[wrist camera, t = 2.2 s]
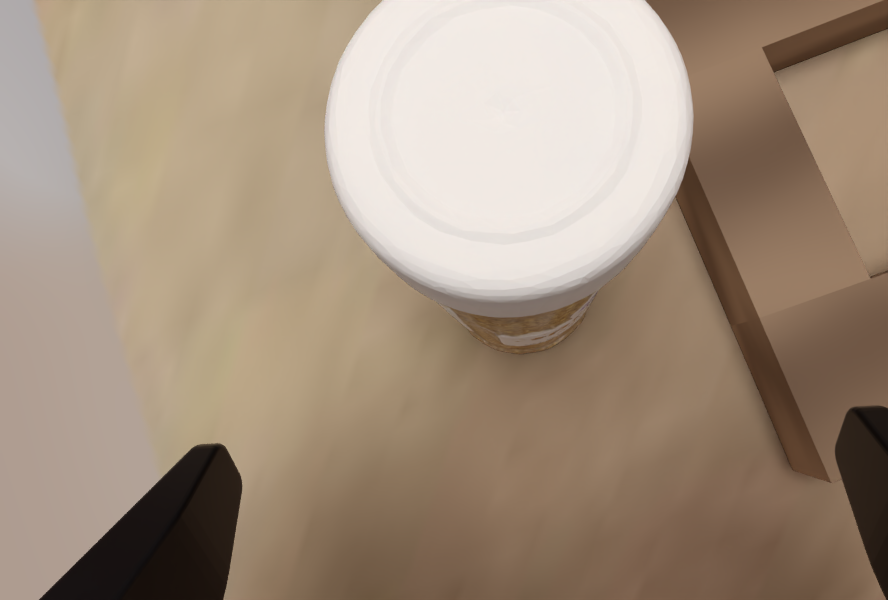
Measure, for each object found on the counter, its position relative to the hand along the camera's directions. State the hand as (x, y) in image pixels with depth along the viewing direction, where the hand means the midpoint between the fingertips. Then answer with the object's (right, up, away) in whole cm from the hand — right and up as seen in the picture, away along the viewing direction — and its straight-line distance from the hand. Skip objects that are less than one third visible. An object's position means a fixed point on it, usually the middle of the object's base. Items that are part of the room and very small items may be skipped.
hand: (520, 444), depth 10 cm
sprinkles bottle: (+1, +3, +12) cm, 12 cm away
